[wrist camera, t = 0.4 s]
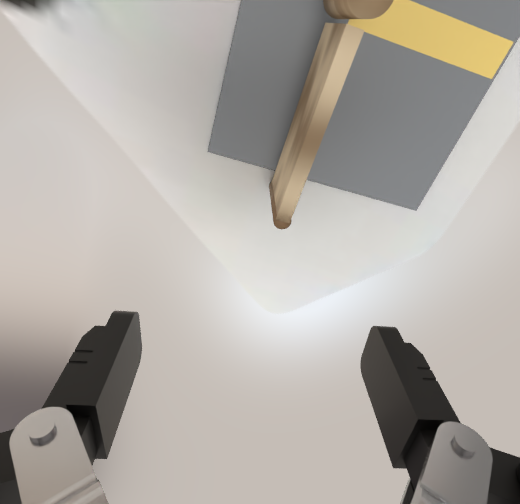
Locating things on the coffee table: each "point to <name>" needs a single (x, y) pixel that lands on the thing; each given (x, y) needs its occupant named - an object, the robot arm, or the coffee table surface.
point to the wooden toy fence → (356, 8)
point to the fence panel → (312, 117)
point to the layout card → (365, 89)
